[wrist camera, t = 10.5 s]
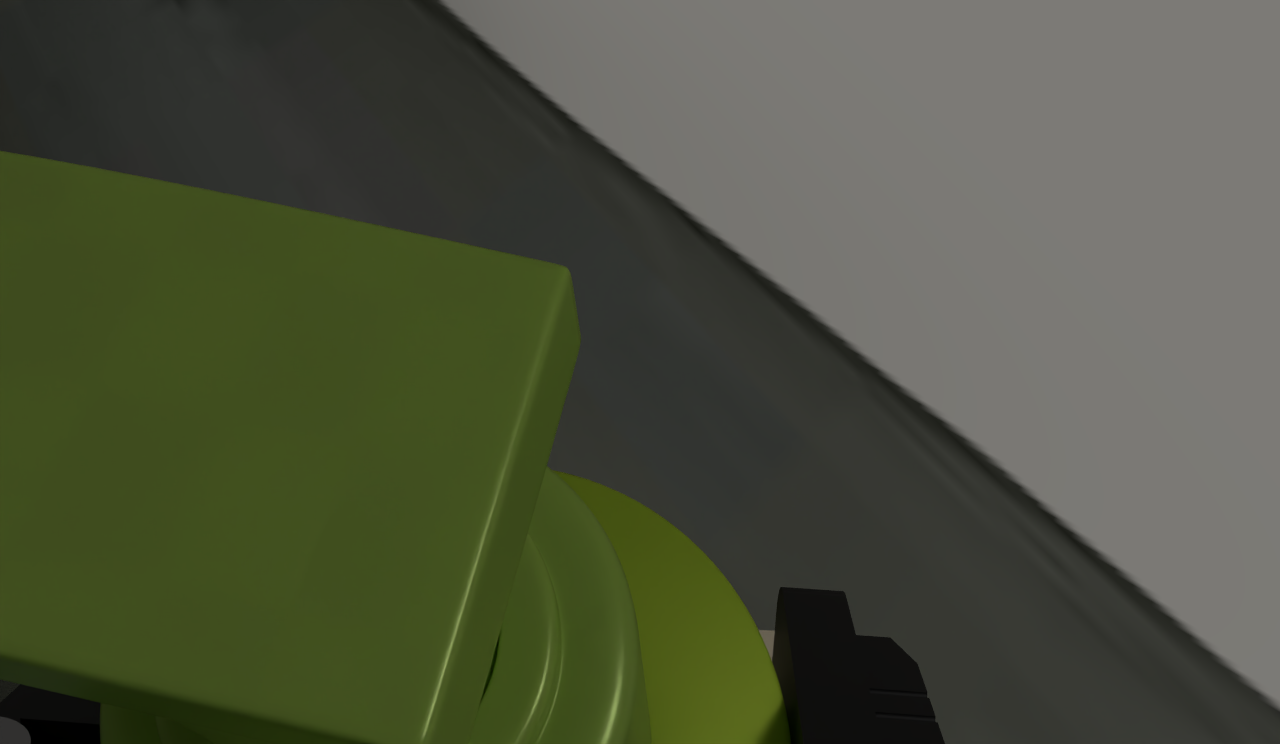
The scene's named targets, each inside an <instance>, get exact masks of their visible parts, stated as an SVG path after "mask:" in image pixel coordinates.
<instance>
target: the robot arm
mask: <svg viewBox="0 0 1280 744" xmlns="http://www.w3.org/2000/svg"><path fill="white" fill-rule="evenodd" d="M772 663H773V666H774V668H775V671H776V675H777V678H778V681H779V684H780V688H781V692H782V695H783V699H784V704H785V708H786V713H787V718H788V724H789V730H790V738H791V744H945V743H944V740H943V737H942V734H941V731H940V728H939V725H938V723H937V722H935V714H934V711H933V708H932V705H931V702H930V699H929V698H927V690H926V687H925V684H924V682H923V679H922V676H921V673H920V670H919V667H918V664H917V663H916V662H915V661H914V660H913V659H912V658H911V657H910V656H909V655H908V654H907V653H906V652H905V651H904V650H903V649H902V648H901V647H899V646H898V645H897V644H896V643H895V642H894V641H893V640H892V639H891V638H888V637H874V636H859V635H856V634H855V630H854V626H853V622H852V618H851V614H850V610H849V606H848V602H847V598H846V595H845V593H844V592H843V591H831V590H816V589H801V588H787V587H781V588H780V590H779V595H778V602H777V611H776V622H775V634H774V645H773V656H772ZM100 704H101V703H99V702H95V701H91V700H86V699H82V698H78V697H73V696H69V695H65V694H61V693H56V692H52V691H48V690H44V689H39V688H35V687H31V686H26V685H22V684H20V685H19V686H18V687H17V688H16V689H15V690H14V691H13V692H12V693H11V694H9V695H8V696H7V697H6V698H5V699H4V700H3V701H2V702H1V703H0V744H101V742H100Z"/></svg>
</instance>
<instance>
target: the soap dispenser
mask: <svg viewBox="0 0 1280 744" xmlns="http://www.w3.org/2000/svg"><path fill="white" fill-rule="evenodd" d="M580 342H581V335H580V329H579V323H578V316H577V310H576V304H575V297H574V291H573V285H572V278H571V274H570V271H569V270H568V269H567V268H566V267H564V266H561V265H558V264H554V263H550V262H545V261H541V260H536V259H532V258H527V257H522V256H518V255H513V254H509V253H504V252H500V251H495V250H490V249H486V248H481V247H477V246H472V245H467V244H463V243H458V242H454V241H449V240H444V239H440V238H435V237H431V236H426V235H421V234H417V233H412V232H407V231H403V230H398V229H393V228H389V227H384V226H379V225H375V224H370V223H365V222H361V221H356V220H351V219H346V218H342V217H337V216H332V215H328V214H323V213H318V212H313V211H309V210H304V209H299V208H294V207H289V206H285V205H280V204H275V203H270V202H265V201H261V200H256V199H251V198H246V197H241V196H236V195H231V194H226V193H221V192H216V191H212V190H207V189H202V188H197V187H192V186H187V185H182V184H176V183H171V182H166V181H161V180H156V179H151V178H146V177H141V176H136V175H130V174H125V173H120V172H115V171H109V170H104V169H99V168H94V167H88V166H83V165H77V164H72V163H66V162H61V161H55V160H50V159H44V158H39V157H33V156H27V155H21V154H15V153H9V152H3V151H0V679H1V680H5V681H9V682H14V683H18V684H22V685H26V686H31V687H35V688H39V689H44V690H48V691H52V692H56V693H61V694H65V695H69V696H73V697H78V698H82V699H86V700H91V701H95V702H99V703H101V704H100V742H101V744H791V738H790V730H789V724H788V718H787V713H786V708H785V704H784V699H783V695H782V692H781V688H780V684H779V681H778V678H777V675H776V671H775V668H774V666H773V663H772V660H771V658H770V655H769V652H768V650H767V648H766V645H765V643H764V641H763V638H762V636H761V634H760V632H759V630H758V628H757V626H756V624H755V622H754V621H753V619H752V617H751V615H750V613H749V612H748V610H747V608H746V607H745V605H744V603H743V602H742V600H741V599H740V597H739V596H738V594H737V593H736V591H735V590H734V588H733V587H732V586H731V584H730V583H729V582H728V580H727V579H726V578H725V576H724V575H723V574H722V573H721V571H720V570H719V569H718V568H717V567H716V565H715V564H714V563H713V562H712V561H711V560H710V559H709V558H708V557H707V556H706V554H705V553H704V552H703V551H702V550H701V549H700V548H699V547H698V546H697V545H695V544H694V543H693V542H692V541H691V540H690V539H689V538H688V537H687V536H686V535H684V534H683V533H682V532H681V531H680V530H678V529H677V528H676V527H675V526H673V525H672V524H671V523H669V522H668V521H667V520H665V519H664V518H663V517H661V516H660V515H658V514H657V513H655V512H654V511H652V510H651V509H649V508H647V507H646V506H644V505H642V504H641V503H639V502H637V501H635V500H633V499H632V498H630V497H628V496H626V495H624V494H622V493H620V492H617V491H615V490H613V489H611V488H608V487H606V486H604V485H601V484H598V483H596V482H593V481H590V480H587V479H584V478H581V477H578V476H574V475H570V474H567V473H563V472H558V471H553V470H551V469H550V468H549V467H548V466H547V463H548V459H549V456H550V452H551V449H552V445H553V441H554V438H555V434H556V431H557V427H558V424H559V420H560V417H561V413H562V410H563V406H564V402H565V399H566V395H567V392H568V388H569V385H570V381H571V378H572V374H573V370H574V367H575V363H576V359H577V356H578V352H579V348H580Z"/></svg>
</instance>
